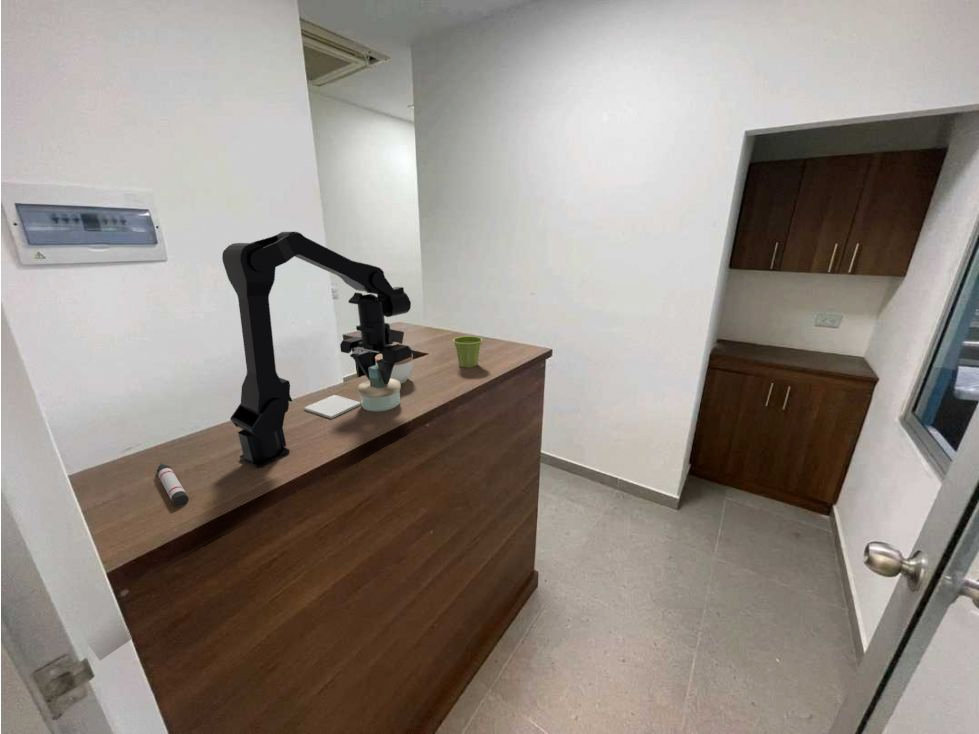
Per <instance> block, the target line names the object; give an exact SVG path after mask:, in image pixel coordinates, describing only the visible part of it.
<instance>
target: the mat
mask: <svg viewBox="0 0 979 734" xmlns="http://www.w3.org/2000/svg"><path fill="white" fill-rule="evenodd" d="M360 406H362V403H361V401H356V400H354V399H349V398H347V397H344V396H340V395H337V394H333V395H331V396H328V397H325V398H323V399H321V400H319V401H316V402H314V403H312V404H309V405H307V406H305V407H304V408H303V409H304V410H305V411H308V412H310V413H313V414H316V415H319V416H322V417H325V418H328V419H331V420H332V419H334V418H336V417H338V416H340V415H342V414H345V413H347V412H349V411H351V410H354V409H355V408H357V407H360Z"/></svg>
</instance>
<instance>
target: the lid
mask: <svg viewBox="0 0 979 734" xmlns="http://www.w3.org/2000/svg"><path fill="white" fill-rule="evenodd" d="M368 369H369V378H370V380H369V379H367V380H366V381H363V382H361V383H360V384H358V386H357V393H358V394H359V396H360V395H361V396H364V397H370V398H377V397H385V396H389V395H392V394H394V393H396V392H398V391H400V390H401V387H402V386H401V384H400V382H399V381H398V380H396V379H391V378H390V380H389V383H388V384H384V381H383V379H382V376H381V373H380V370H379V367H378V364H376V363H375V364H373V366H371V367H368Z"/></svg>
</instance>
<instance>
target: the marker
mask: <svg viewBox="0 0 979 734" xmlns="http://www.w3.org/2000/svg"><path fill="white" fill-rule="evenodd" d="M157 467H158V468H157V470H156V473H157V475H158V478H159V479H160V481H161V483H162V485H163V486H164V489H165V490H166V492H167V495H168V497H169V498H170V500H171V502H172V504H173V505H174V506H175V507H179V506H183V505H184V504H187V503H188V502H189V497H188V495H187V492H186V491H185V489H184V487H183V486H182V484H181V482H180V481H179V479H178V477H177V476H176V474H175V473H174V471H173V469H172V468H171V466H169V465H167V464H164V463H160V464H159V466H157Z"/></svg>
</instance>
